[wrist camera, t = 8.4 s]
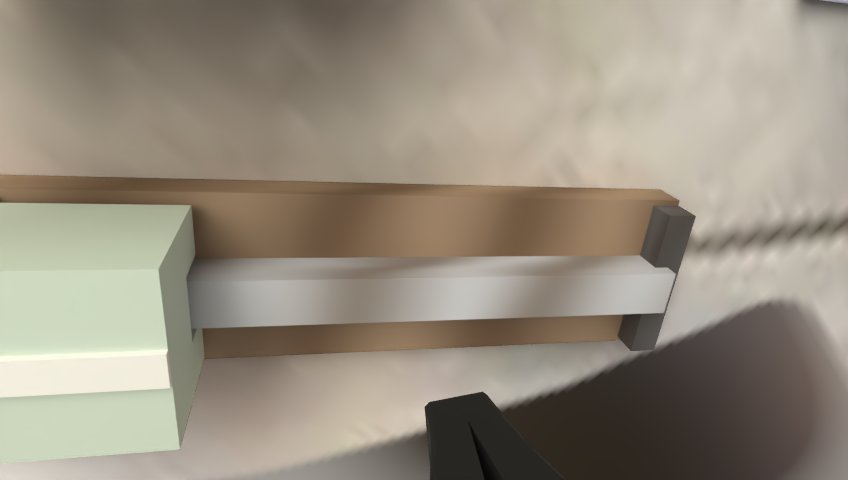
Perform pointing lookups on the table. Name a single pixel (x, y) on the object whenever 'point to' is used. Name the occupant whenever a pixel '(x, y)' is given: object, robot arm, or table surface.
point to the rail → (377, 233)
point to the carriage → (95, 329)
